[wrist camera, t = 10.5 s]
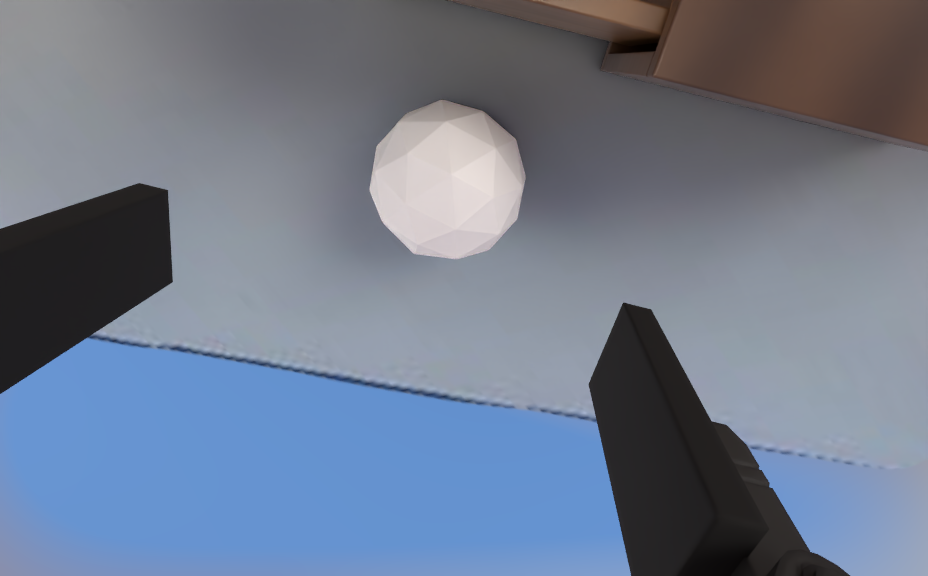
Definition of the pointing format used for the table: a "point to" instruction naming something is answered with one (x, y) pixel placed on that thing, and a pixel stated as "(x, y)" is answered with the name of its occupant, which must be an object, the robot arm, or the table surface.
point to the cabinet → (797, 61)
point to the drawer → (590, 16)
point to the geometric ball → (447, 180)
